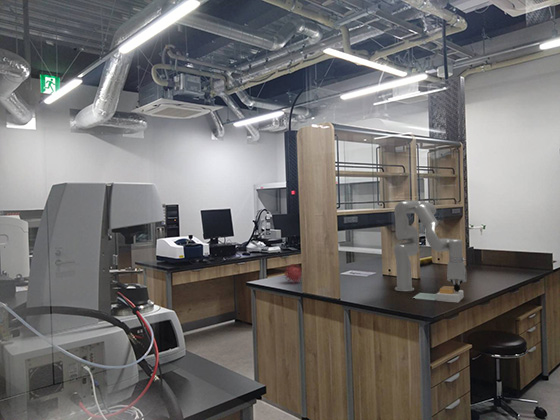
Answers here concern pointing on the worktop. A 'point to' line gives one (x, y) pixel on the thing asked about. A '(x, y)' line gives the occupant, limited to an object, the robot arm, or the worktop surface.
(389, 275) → the worktop surface
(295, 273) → the virus model
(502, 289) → the worktop surface
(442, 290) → the slide box
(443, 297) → the platform
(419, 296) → the mat
